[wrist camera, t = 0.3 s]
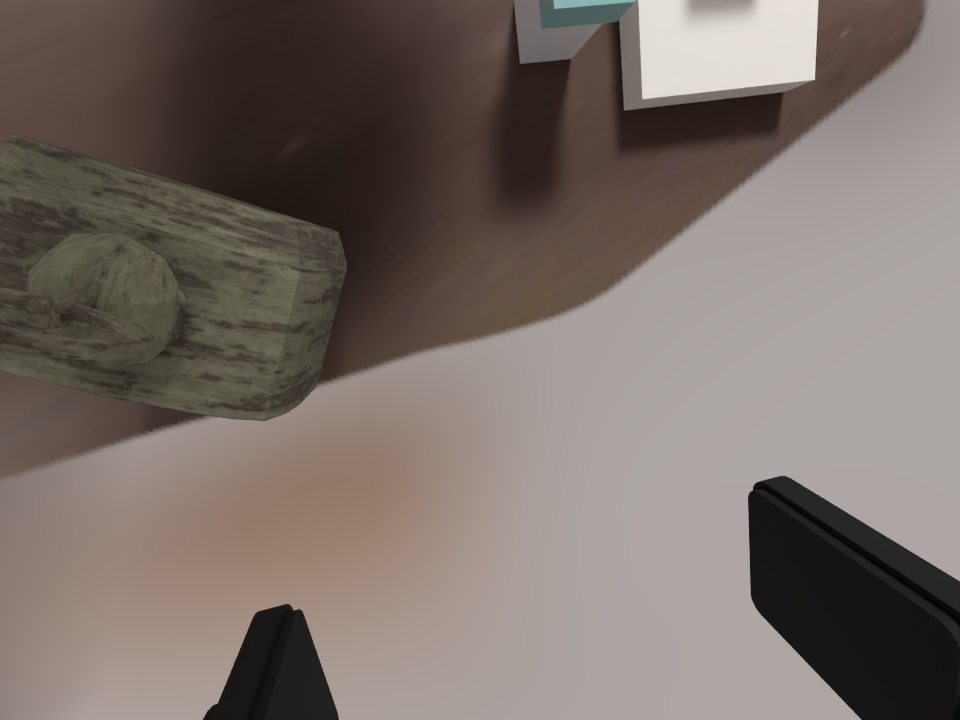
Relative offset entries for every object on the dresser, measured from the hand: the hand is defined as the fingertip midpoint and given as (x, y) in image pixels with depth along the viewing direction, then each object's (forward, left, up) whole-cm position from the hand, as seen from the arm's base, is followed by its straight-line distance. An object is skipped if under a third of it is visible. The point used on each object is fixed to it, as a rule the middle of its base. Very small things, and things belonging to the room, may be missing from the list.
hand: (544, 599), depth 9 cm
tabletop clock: (-7, -13, -31) cm, 34 cm away
